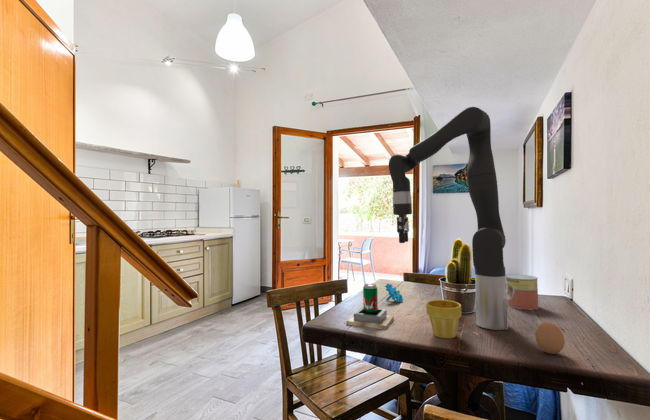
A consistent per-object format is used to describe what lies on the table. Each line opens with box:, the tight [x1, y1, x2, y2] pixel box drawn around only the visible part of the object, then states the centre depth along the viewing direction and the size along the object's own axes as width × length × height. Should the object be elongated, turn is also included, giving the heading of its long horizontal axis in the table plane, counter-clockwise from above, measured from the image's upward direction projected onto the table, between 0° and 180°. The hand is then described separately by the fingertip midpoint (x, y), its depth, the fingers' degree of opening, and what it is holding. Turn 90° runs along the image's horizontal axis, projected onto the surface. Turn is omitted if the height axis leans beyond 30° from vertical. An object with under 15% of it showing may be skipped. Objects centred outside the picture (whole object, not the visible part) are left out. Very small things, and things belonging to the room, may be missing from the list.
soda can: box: [362, 283, 379, 315], centre depth 116 cm, size 5×5×12 cm
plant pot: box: [425, 299, 463, 339], centre depth 101 cm, size 10×10×10 cm
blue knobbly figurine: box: [384, 283, 404, 304], centre depth 145 cm, size 11×6×10 cm
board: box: [345, 314, 395, 331], centre depth 115 cm, size 14×12×1 cm
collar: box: [353, 306, 388, 324], centre depth 115 cm, size 9×9×2 cm
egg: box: [535, 321, 566, 355], centre depth 87 cm, size 6×6×8 cm
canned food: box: [505, 274, 539, 311], centre depth 133 cm, size 11×11×12 cm
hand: (403, 242), depth 133 cm, fingers open, 8 cm apart
